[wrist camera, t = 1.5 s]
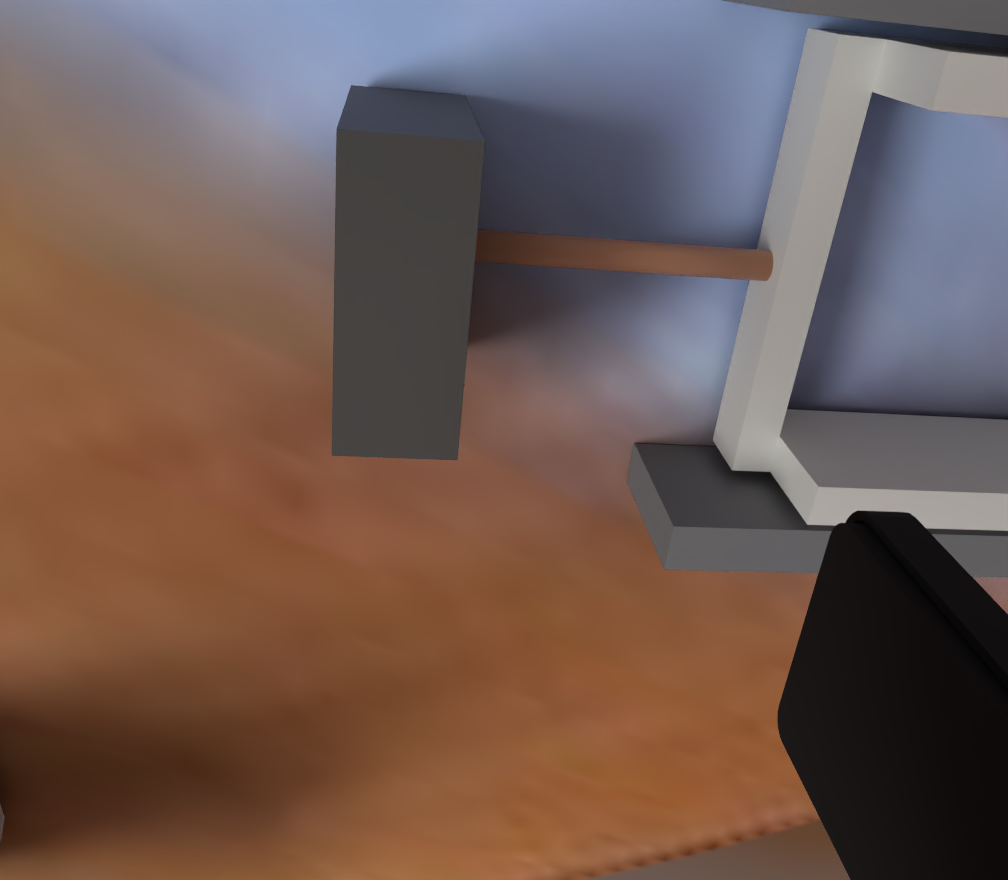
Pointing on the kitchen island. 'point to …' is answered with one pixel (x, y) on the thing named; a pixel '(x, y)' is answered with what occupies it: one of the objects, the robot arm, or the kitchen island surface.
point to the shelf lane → (757, 495)
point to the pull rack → (771, 270)
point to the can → (1, 822)
